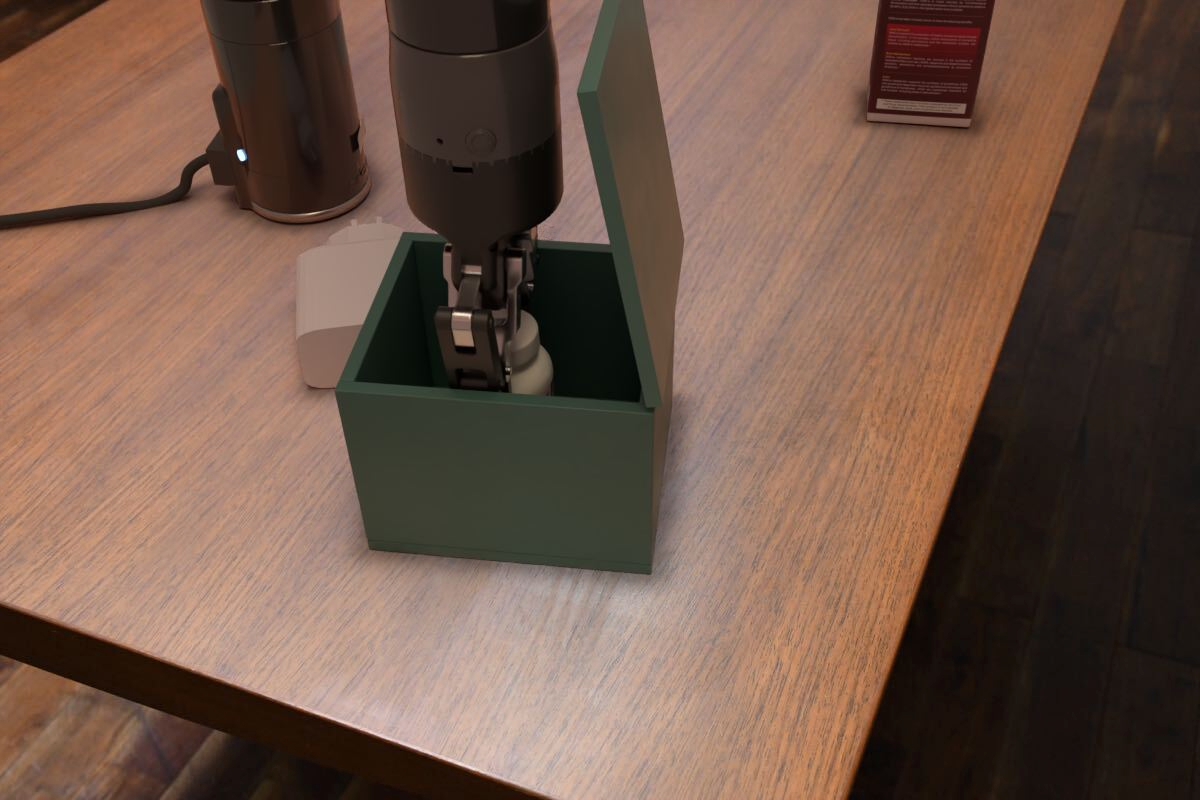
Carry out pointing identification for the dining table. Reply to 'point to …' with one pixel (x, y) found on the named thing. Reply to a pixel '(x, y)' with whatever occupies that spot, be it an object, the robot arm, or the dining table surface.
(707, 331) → the dining table surface
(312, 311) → the charger
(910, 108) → the supplement box
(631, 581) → the dining table surface
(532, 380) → the pill bottle
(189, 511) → the dining table surface
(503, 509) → the chest
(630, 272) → the lid
